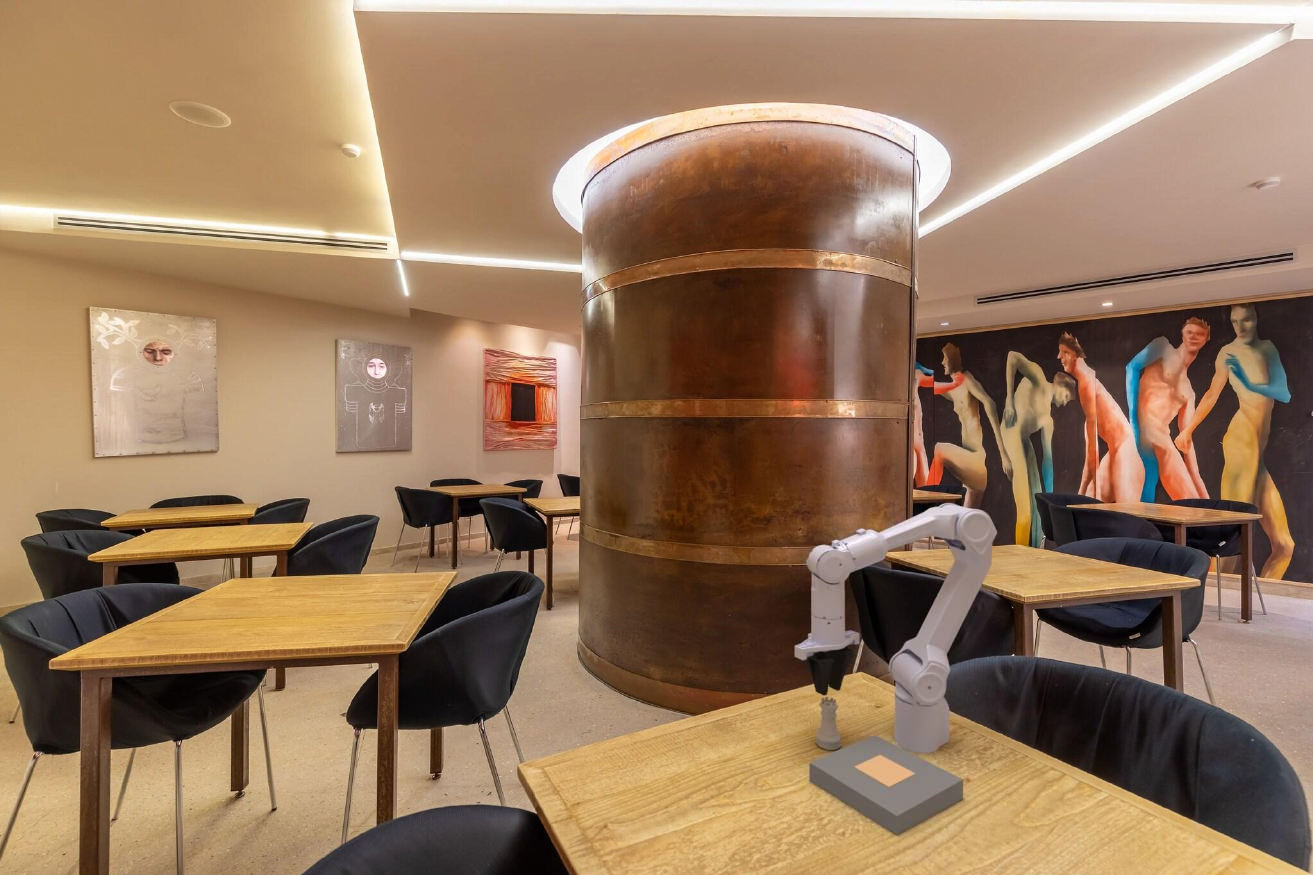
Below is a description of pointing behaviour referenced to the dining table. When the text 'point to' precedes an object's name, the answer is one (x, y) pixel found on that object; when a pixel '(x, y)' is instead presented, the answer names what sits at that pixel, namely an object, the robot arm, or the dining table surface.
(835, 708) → the rook chess piece
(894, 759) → the grey flat square slab
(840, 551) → the robot arm
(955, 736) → the dining table surface
